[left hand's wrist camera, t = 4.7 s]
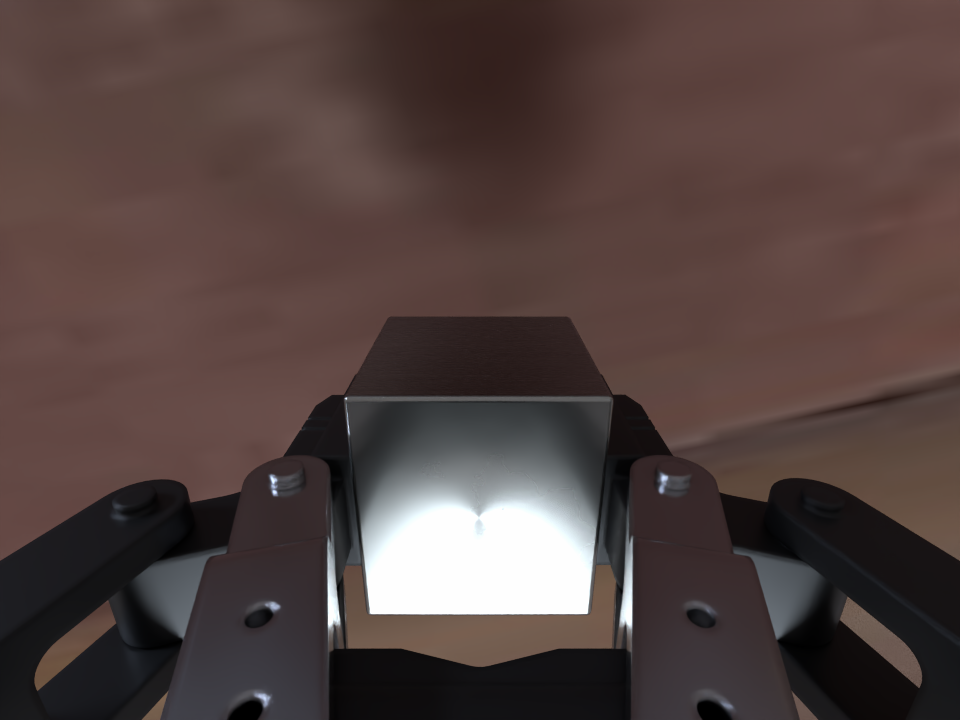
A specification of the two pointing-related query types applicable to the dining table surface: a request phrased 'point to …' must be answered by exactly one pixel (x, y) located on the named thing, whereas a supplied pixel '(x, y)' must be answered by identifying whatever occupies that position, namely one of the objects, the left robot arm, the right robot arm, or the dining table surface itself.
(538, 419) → the block
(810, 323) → the dining table surface
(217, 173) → the dining table surface
